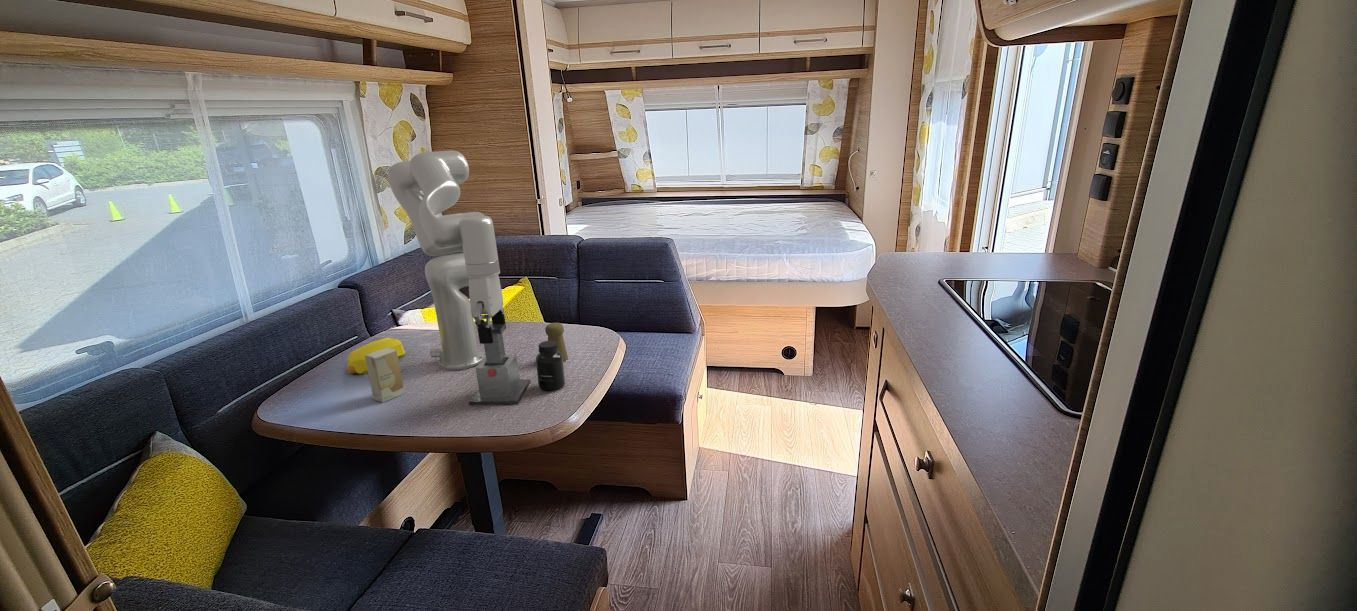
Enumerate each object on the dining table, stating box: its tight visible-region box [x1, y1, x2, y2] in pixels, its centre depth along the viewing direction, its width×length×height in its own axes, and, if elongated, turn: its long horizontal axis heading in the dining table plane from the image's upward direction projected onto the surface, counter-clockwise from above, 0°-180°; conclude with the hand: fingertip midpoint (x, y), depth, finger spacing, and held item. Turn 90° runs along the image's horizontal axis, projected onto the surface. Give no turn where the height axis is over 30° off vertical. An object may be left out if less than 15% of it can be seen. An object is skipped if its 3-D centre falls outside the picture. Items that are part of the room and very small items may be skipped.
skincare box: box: [365, 348, 405, 403], centre depth 145 cm, size 6×4×12 cm
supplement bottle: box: [535, 340, 566, 393], centre depth 147 cm, size 7×7×12 cm
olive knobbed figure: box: [544, 322, 569, 363], centre depth 164 cm, size 6×6×11 cm
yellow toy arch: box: [347, 336, 406, 375], centre depth 166 cm, size 18×7×8 cm
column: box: [483, 324, 507, 366], centre depth 143 cm, size 6×4×17 cm, turn 89°
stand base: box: [468, 354, 531, 406], centre depth 145 cm, size 12×12×9 cm
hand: (493, 336), depth 141 cm, fingers open, 9 cm apart
